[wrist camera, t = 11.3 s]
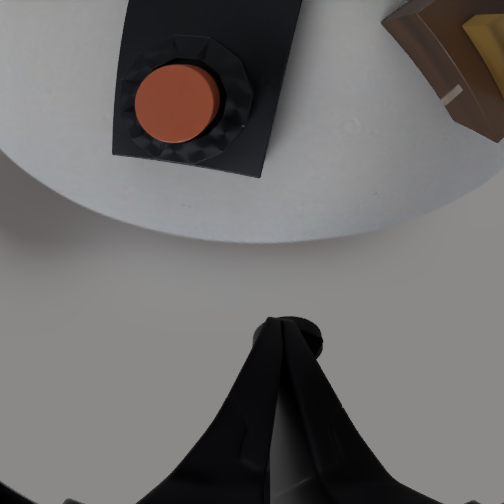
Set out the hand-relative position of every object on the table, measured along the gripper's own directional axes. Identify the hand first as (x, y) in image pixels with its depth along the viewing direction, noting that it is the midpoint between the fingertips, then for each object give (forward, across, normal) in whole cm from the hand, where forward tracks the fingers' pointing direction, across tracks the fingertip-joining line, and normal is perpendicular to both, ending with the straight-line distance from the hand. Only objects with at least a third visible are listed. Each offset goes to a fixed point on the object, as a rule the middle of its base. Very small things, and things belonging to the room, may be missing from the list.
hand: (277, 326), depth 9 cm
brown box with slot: (+12, -10, -14) cm, 21 cm away
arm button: (+8, +6, -5) cm, 11 cm away
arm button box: (+12, +6, -7) cm, 15 cm away
